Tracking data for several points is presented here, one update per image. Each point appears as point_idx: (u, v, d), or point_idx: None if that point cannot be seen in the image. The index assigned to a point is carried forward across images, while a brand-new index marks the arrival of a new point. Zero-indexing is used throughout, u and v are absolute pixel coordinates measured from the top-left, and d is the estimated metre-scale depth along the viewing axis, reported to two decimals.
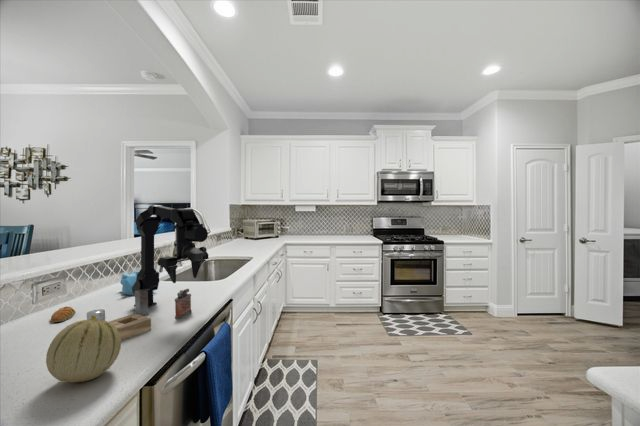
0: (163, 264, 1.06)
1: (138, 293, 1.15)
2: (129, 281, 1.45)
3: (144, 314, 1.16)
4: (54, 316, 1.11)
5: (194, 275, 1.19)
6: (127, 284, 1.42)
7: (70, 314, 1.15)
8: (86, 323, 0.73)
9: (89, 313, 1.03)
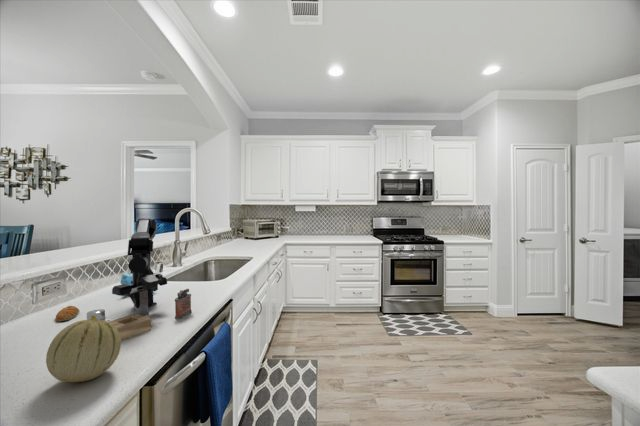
0: (116, 293, 1.08)
1: None
2: (129, 281, 1.45)
3: (144, 314, 1.16)
4: (60, 315, 1.12)
5: None
6: (127, 284, 1.42)
7: (75, 313, 1.16)
8: (86, 323, 0.73)
9: (89, 313, 1.03)
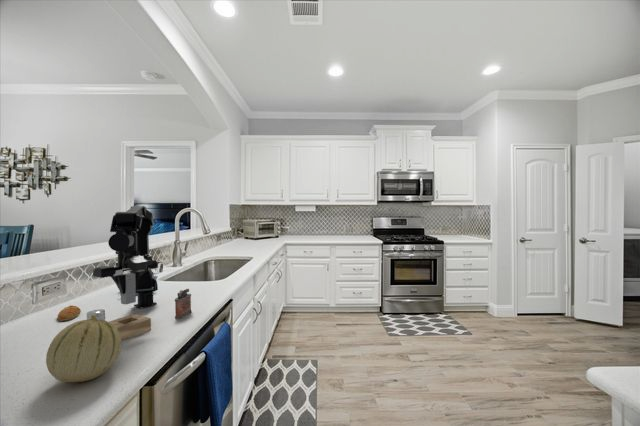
0: (98, 275, 0.93)
1: None
2: None
3: (131, 301, 1.01)
4: (62, 315, 1.12)
5: None
6: None
7: (77, 313, 1.16)
8: (86, 323, 0.73)
9: (89, 313, 1.03)
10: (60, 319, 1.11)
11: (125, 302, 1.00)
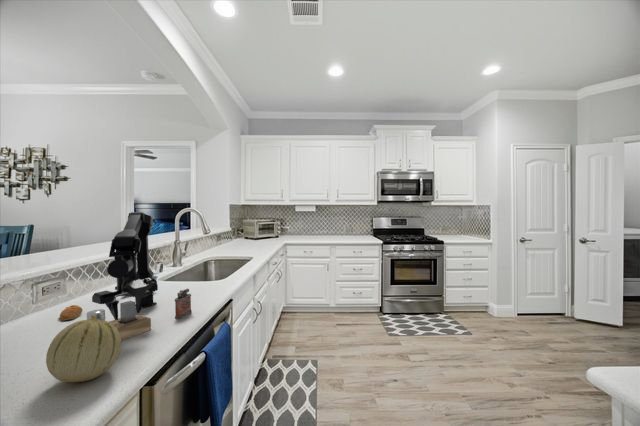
0: (97, 301, 0.93)
1: (124, 306, 1.00)
2: None
3: None
4: (64, 314, 1.13)
5: (137, 310, 1.04)
6: None
7: (79, 312, 1.17)
8: (86, 323, 0.73)
9: (89, 313, 1.03)
10: (63, 319, 1.12)
11: None
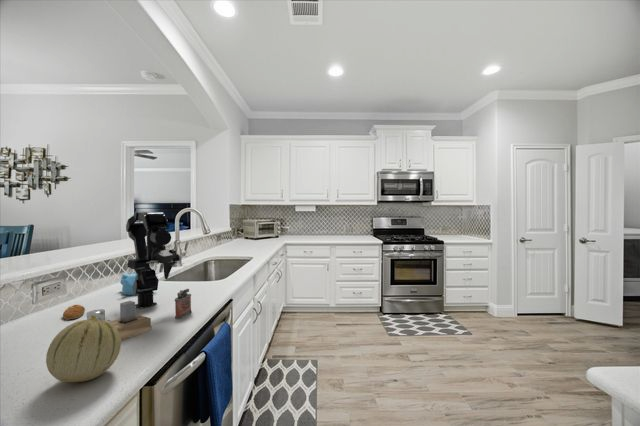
0: (132, 266, 1.10)
1: (123, 306, 0.99)
2: (129, 281, 1.45)
3: None
4: (68, 313, 1.13)
5: (165, 276, 1.23)
6: (127, 284, 1.42)
7: (82, 311, 1.18)
8: (86, 323, 0.73)
9: (89, 313, 1.03)
10: (66, 318, 1.13)
11: None
